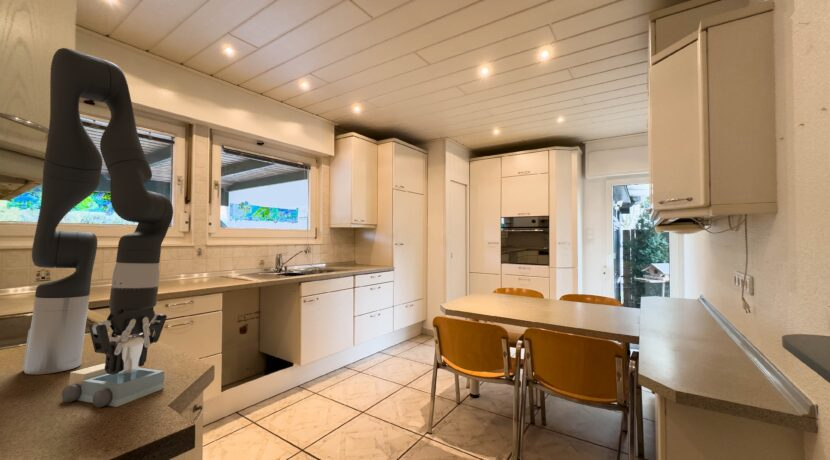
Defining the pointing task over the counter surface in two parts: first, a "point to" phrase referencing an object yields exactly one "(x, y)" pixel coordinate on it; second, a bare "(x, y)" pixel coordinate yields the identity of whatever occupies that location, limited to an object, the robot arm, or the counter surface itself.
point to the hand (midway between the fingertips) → (126, 369)
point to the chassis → (110, 386)
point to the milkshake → (129, 359)
